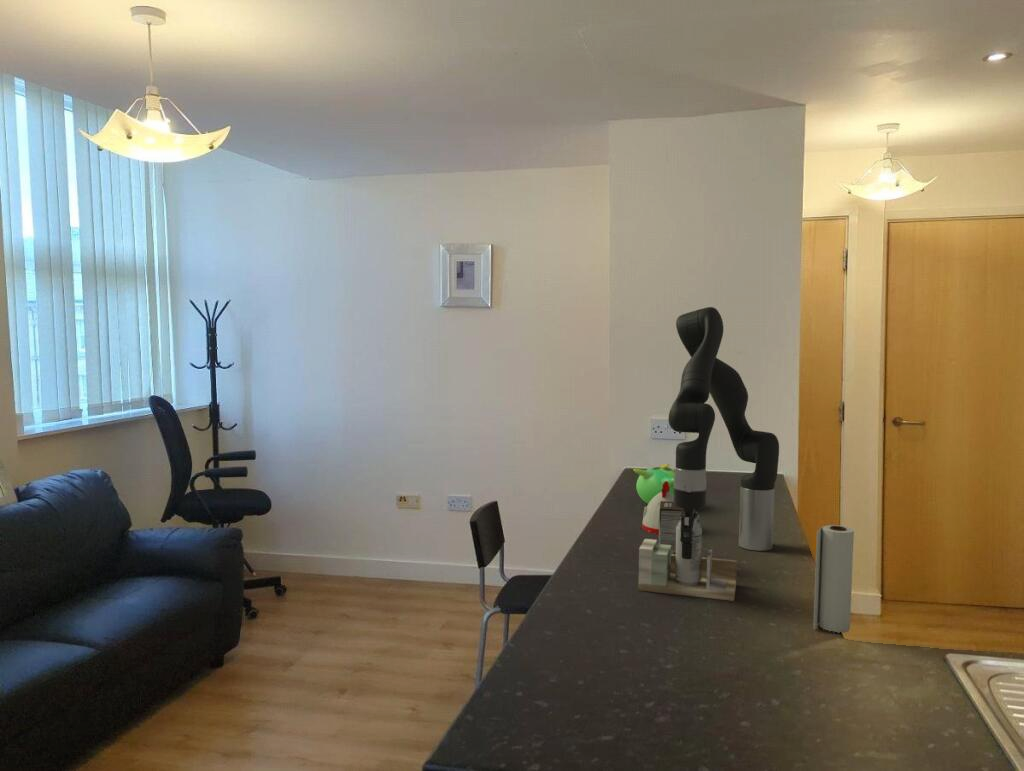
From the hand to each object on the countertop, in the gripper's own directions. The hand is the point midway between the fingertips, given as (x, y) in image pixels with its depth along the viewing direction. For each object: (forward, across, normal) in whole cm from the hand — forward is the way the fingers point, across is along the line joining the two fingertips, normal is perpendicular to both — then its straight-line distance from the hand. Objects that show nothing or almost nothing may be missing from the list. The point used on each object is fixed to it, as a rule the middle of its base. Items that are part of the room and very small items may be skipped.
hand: (688, 553), depth 187 cm
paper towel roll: (+9, +15, +31) cm, 35 cm away
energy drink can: (+7, 0, 0) cm, 7 cm away
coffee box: (+9, -18, -6) cm, 21 cm away
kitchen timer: (+9, -54, -12) cm, 56 cm away
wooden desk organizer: (+9, -1, 0) cm, 9 cm away
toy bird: (+9, -84, -17) cm, 86 cm away
